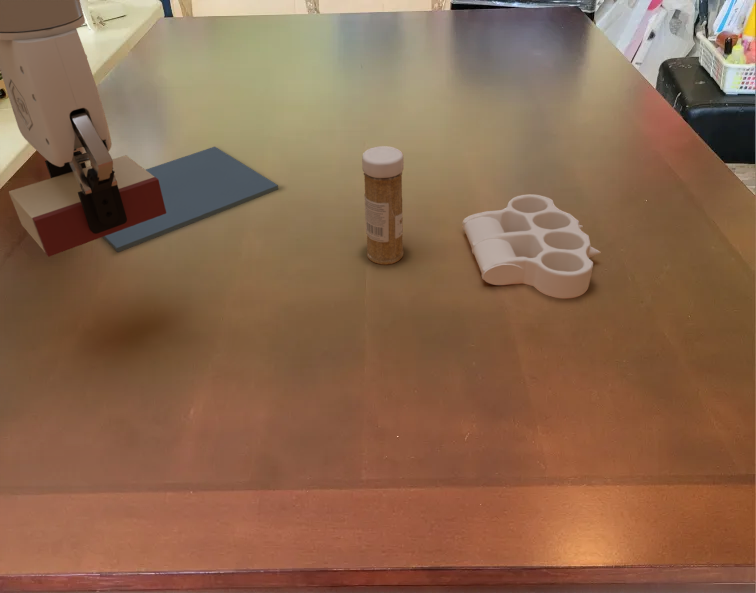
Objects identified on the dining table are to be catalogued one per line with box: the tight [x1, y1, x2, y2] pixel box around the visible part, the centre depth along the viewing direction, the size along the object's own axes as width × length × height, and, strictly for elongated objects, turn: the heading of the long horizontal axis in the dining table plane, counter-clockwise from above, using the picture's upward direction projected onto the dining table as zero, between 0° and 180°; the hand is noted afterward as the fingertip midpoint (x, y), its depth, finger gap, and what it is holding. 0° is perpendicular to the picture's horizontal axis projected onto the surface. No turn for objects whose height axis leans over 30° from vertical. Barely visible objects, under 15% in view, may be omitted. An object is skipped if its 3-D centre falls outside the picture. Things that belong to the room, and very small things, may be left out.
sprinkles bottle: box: [361, 145, 405, 266], centre depth 76 cm, size 5×5×14 cm
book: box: [8, 154, 166, 257], centre depth 60 cm, size 11×7×4 cm, turn 131°
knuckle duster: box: [462, 193, 602, 300], centre depth 78 cm, size 3×18×15 cm
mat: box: [102, 146, 279, 253], centre depth 93 cm, size 24×18×1 cm
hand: (91, 209), depth 60 cm, fingers closed on book, 7 cm apart
